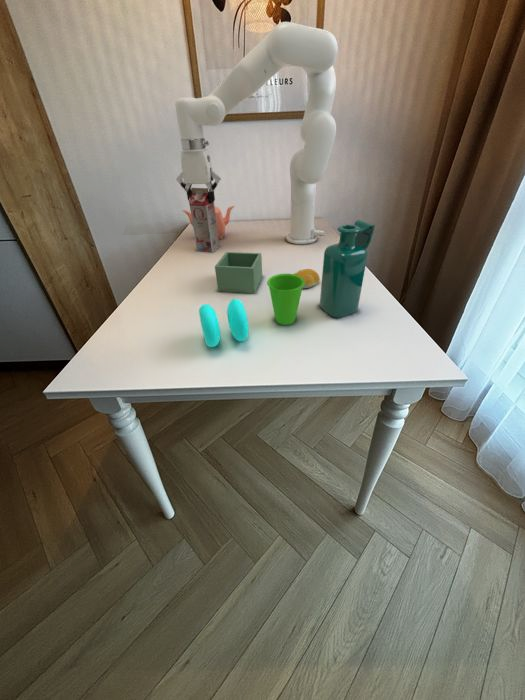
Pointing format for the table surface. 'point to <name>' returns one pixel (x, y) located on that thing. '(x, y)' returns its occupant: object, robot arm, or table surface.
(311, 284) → the bread roll
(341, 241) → the pitcher
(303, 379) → the table surface
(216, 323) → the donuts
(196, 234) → the juice carton
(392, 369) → the table surface
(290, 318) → the cup
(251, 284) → the bin
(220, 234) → the teapot
